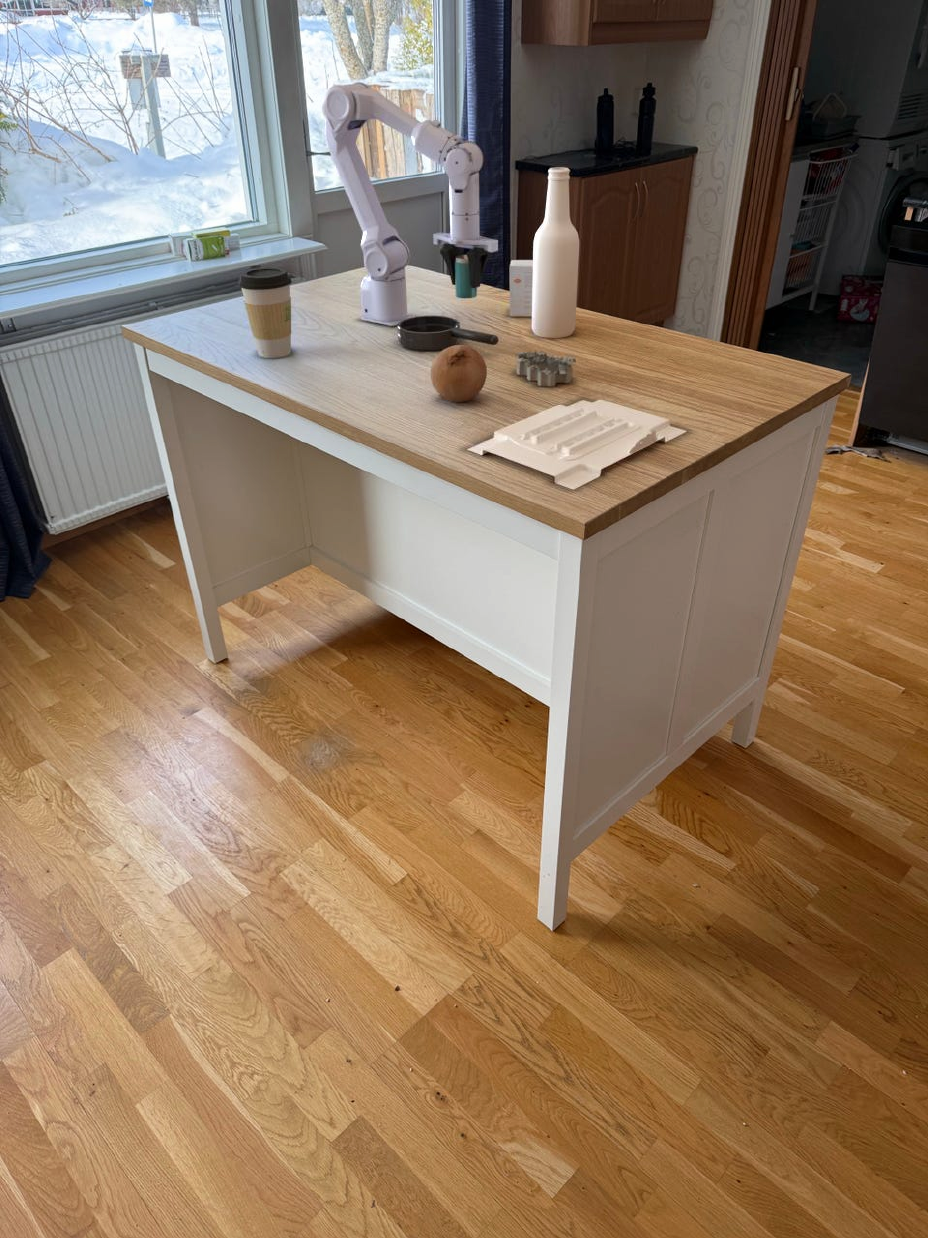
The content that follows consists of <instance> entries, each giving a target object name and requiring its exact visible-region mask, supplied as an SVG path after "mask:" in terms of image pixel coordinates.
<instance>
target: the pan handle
mask: <svg viewBox="0 0 928 1238" xmlns="http://www.w3.org/2000/svg"><path fill="white" fill-rule="evenodd" d="M451 335H452V336H453V337H456V338H460V340H461V339H462V340H466V341H471V342H477V343H480V344H487V345H491V346H496V345H497V344H498V343H499V337H498V336H497V335H496V334H491V333H486V332H480V331H476V330H470V329H466V328H461V327H460V328H456V327H454V328H452V329H451Z"/></svg>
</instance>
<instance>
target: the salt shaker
mask: <svg viewBox="0 0 928 1238" xmlns="http://www.w3.org/2000/svg"><path fill="white" fill-rule="evenodd" d="M454 288H455V291H454V292H455V297H456V298H458V299H473V298H477V297H478V287H477V288H472V287H471V274H470V265H469V261H468V257H467V254H463V255H459V256H456V261H455V285H454Z"/></svg>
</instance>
